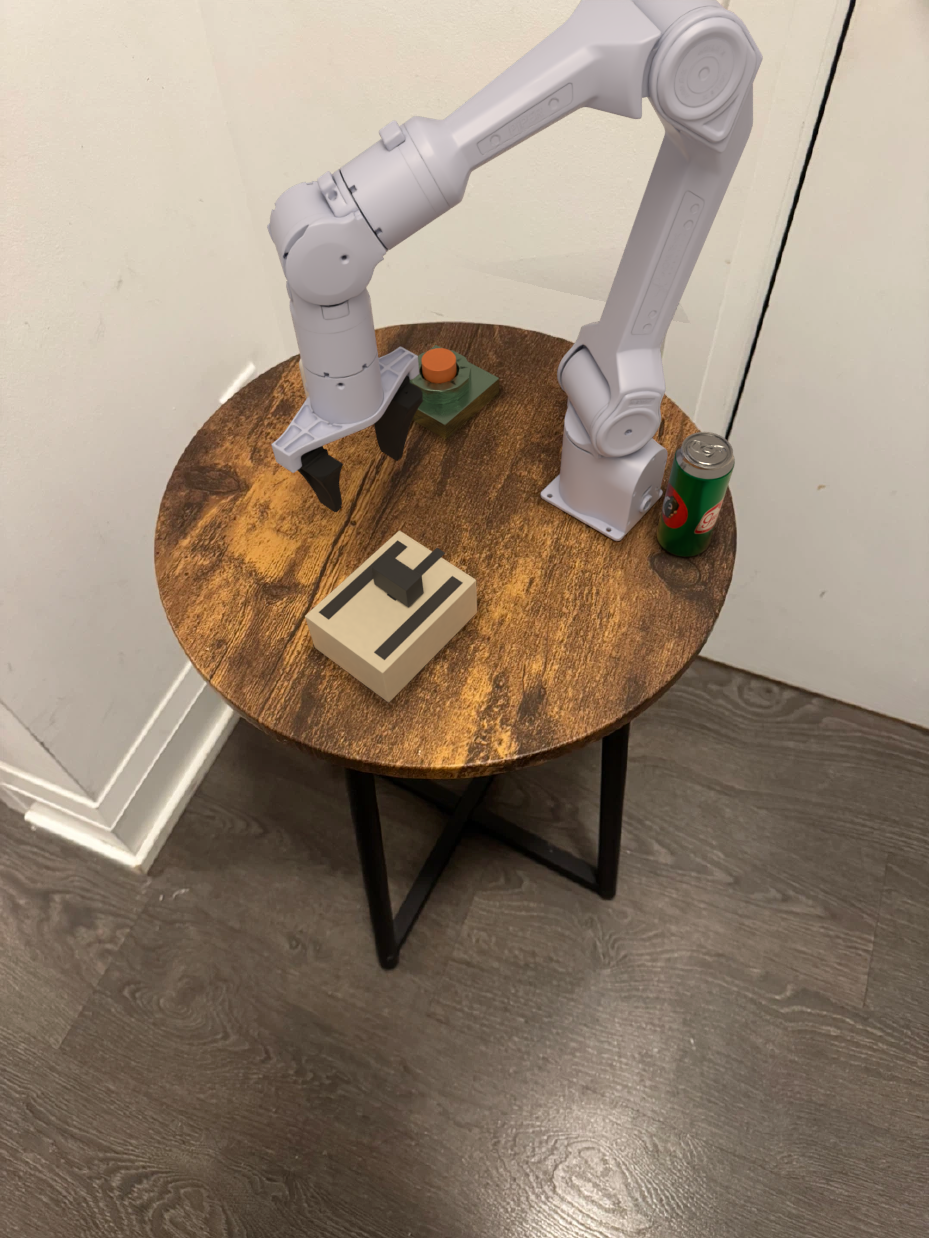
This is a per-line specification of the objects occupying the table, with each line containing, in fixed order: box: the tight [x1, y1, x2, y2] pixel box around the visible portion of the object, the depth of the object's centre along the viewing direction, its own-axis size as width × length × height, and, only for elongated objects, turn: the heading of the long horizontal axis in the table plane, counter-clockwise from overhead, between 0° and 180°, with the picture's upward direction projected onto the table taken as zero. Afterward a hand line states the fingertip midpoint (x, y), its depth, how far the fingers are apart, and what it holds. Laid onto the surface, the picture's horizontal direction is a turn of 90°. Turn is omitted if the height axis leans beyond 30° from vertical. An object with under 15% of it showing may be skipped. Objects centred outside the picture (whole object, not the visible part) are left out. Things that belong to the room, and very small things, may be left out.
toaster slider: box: [371, 553, 424, 608], centre depth 75 cm, size 4×2×2 cm, turn 50°
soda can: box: [656, 431, 736, 558], centre depth 80 cm, size 5×5×12 cm
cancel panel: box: [410, 344, 500, 440], centre depth 95 cm, size 9×9×4 cm
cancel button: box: [422, 347, 457, 384], centre depth 93 cm, size 4×4×2 cm
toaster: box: [304, 530, 478, 703], centre depth 78 cm, size 9×13×5 cm
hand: (361, 479), depth 78 cm, fingers open, 7 cm apart
